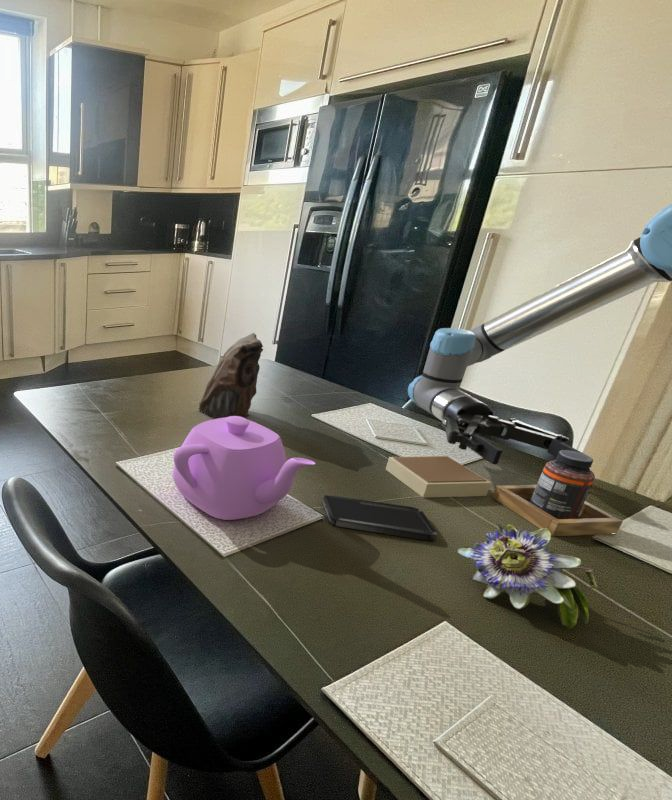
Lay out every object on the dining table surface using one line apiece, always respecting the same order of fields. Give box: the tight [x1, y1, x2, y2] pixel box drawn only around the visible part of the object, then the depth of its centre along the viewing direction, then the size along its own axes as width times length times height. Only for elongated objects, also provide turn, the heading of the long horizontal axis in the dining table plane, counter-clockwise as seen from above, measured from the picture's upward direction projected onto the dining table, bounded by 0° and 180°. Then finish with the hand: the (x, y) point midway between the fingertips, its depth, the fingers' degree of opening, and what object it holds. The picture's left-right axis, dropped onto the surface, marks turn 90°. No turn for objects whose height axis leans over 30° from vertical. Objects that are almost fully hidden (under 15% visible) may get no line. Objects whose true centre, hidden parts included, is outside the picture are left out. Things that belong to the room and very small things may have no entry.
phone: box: [321, 494, 438, 542], centre depth 79 cm, size 8×1×15 cm
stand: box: [385, 455, 492, 499], centre depth 90 cm, size 12×10×3 cm
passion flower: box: [456, 522, 598, 629], centre depth 63 cm, size 11×11×12 cm
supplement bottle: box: [529, 450, 596, 519], centre depth 80 cm, size 6×6×11 cm
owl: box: [198, 332, 264, 419], centre depth 115 cm, size 13×13×20 cm
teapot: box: [172, 416, 316, 521], centre depth 79 cm, size 23×21×15 cm
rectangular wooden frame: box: [491, 484, 623, 537], centre depth 81 cm, size 11×11×2 cm
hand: (539, 460), depth 84 cm, fingers open, 13 cm apart
